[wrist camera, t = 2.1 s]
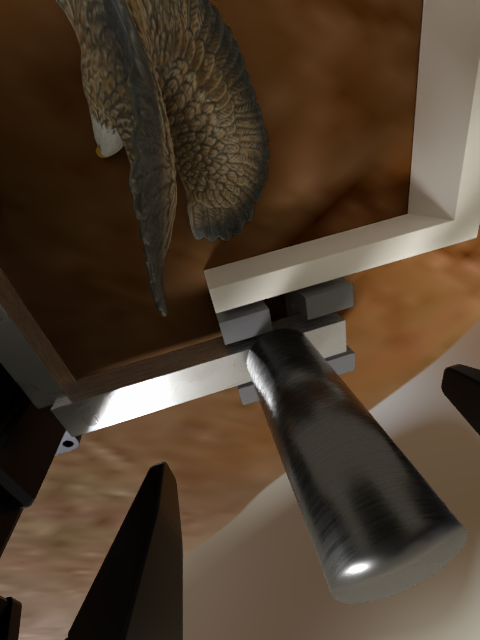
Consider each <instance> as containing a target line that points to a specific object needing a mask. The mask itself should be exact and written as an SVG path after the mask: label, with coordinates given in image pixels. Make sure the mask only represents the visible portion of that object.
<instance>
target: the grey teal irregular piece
mask: <svg viewBox="0 0 480 640" xmlns="http://www.w3.org/2000/svg"><path fill="white" fill-rule="evenodd" d="M271 323H272V328H273V331H270V332H267V333H264V334H260V335H257V336H254V337H250V338H247V339H244V340H240V341H237V342H234V343H230V344H227V345H225V343H224V339H223V336H221V337H218V338H214V339H211V340H208V341H204V342H201V343H197V344H194V345H191V346H187V347H184V348H181V349H177V350H174V351H171V352H167V353H164V354H161V355H157V356H154V357H151V358H147V359H144V360H140V361H137V362H134V363H130V364H127V365H124V366H120V367H117V368H114V369H110V370H107V371H104V372H100V373H97V374H93V375H90V376H87V377H83V378H80V379H77V380H75V379H74V377H73V376H72V374H71V373H70V371H69V370H68V368H67V367H66V365H65V364H64V362H63V361H62V359H61V358H60V356H59V355H58V353H57V352H56V350H55V349H54V347H53V346H52V344H51V343H50V341H49V340H48V338H47V337H46V335H45V334H44V332H43V331H42V329H41V328H40V326H39V325H38V323H37V322H36V320H35V319H34V317H33V316H32V314H31V313H30V311H29V310H28V308H27V307H26V305H25V304H24V302H23V301H22V299H21V298H20V296H19V295H18V293H17V292H16V290H15V289H14V287H13V286H12V284H11V283H10V281H9V280H8V278H7V277H6V275H5V274H4V272H3V271H2V269H1V268H0V363H1V364H2V365H3V366H4V368H5V369H6V370H7V371H8V373H9V374H10V375H11V376H12V378H13V379H14V380H15V381H16V382H17V384H18V385H19V386H20V387H21V389H22V390H23V391H24V392H25V394H26V395H27V396H28V397H29V398H30V400H31V401H32V402H33V403H34V405H35V406H36V407H37V408H38V409H40V408H43V407H46V406H50V405H53V404H54V405H53V406H52V408H51V411H52V412H53V414H54V415H55V416H56V418H57V419H58V420H59V421H60V423H61V424H62V425H63V427H64V428H65V429H66V430H67V432H68V433H69V434H70V435H71V437H75V436H78V435H81V434H84V433H88V432H91V431H94V430H97V429H100V428H103V427H107V426H110V425H113V424H116V423H119V422H123V421H126V420H129V419H132V418H135V417H139V416H142V415H145V414H148V413H151V412H155V411H158V410H161V409H164V408H167V407H171V406H174V405H177V404H180V403H183V402H186V401H190V400H193V399H196V398H199V397H202V396H206V395H209V394H212V393H215V392H218V391H222V390H225V389H228V388H231V387H234V386H238V385H241V384H244V383H247V382H250V381H252V382H253V385H254V387H255V390H256V393H257V396H258V398H259V401H260V404H261V406H262V409H263V412H264V414H265V417H266V420H267V422H268V425H269V428H270V430H271V433H272V436H273V438H274V441H275V444H276V447H277V449H278V452H279V455H280V457H281V460H282V463H283V465H284V468H285V471H286V473H287V476H288V479H289V481H290V484H291V487H292V489H293V492H294V495H295V497H296V500H297V503H298V506H299V508H300V511H301V513H302V516H303V519H304V522H305V524H306V527H307V530H308V532H309V535H310V537H311V540H312V543H313V546H314V548H315V551H316V553H317V556H318V559H319V562H320V565H321V567H322V570H323V573H324V575H325V578H326V580H327V583H328V586H329V589H330V591H331V594H332V596H333V597H334V599H335V600H337V601H339V602H341V603H347V604H360V603H367V602H372V601H376V600H380V599H383V598H386V597H389V596H392V595H395V594H398V593H400V592H402V591H405V590H407V589H409V588H411V587H413V586H415V585H417V584H419V583H421V582H422V581H424V580H426V579H427V578H429V577H431V576H432V575H434V574H435V573H437V572H438V571H439V570H441V569H442V568H443V567H445V566H446V565H447V564H448V563H449V562H451V561H452V559H454V558H455V557H456V556H457V554H458V553H459V552H460V551H461V549H462V548H463V547H464V545H465V543H466V540H467V530H466V528H465V527H464V526H463V525H462V524H461V522H460V521H459V520H458V519H457V517H456V516H455V515H454V514H453V513H452V511H451V510H450V509H449V508H448V507H447V506H446V504H445V503H444V502H443V501H442V499H441V498H440V497H439V496H438V495H437V493H436V492H435V491H434V490H433V489H432V487H431V486H430V485H429V484H428V483H427V481H426V480H425V479H424V478H423V477H422V475H421V474H420V473H419V472H418V471H417V469H416V468H415V467H414V466H413V465H412V463H411V462H410V461H409V460H408V458H407V457H406V456H405V455H404V454H403V452H402V451H401V450H400V449H399V448H398V447H397V445H396V444H395V443H394V442H393V440H392V439H391V438H390V437H389V436H388V435H387V433H386V432H385V431H384V430H383V428H382V427H381V426H380V425H379V424H378V422H377V421H376V420H375V419H374V418H373V416H372V415H371V414H370V413H369V412H368V410H367V409H366V408H365V407H364V406H363V404H362V403H361V402H360V401H359V400H358V398H357V397H356V396H355V395H354V393H353V392H352V391H351V390H350V389H349V387H348V386H347V385H346V384H345V383H344V381H343V380H342V379H341V378H340V377H339V375H338V374H337V373H336V372H335V371H334V369H333V368H332V367H331V366H330V365H329V363H328V362H327V361H326V360H325V359H324V358H327V357H330V356H333V355H336V354H340V353H343V352H346V325H345V320H344V319H343V318H342V317H341V316H340V315H338V314H337V313H336V312H333V313H330V314H327V315H323V316H320V317H317V318H313V319H310V320H308V319H307V318H306V317H305V316H304V315H303V314H302V313H298V314H295V315H291V316H288V317H285V318H281V319H278V320H275V321H271Z"/></svg>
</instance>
